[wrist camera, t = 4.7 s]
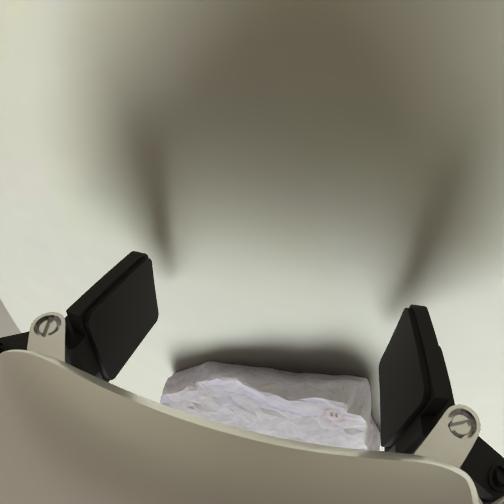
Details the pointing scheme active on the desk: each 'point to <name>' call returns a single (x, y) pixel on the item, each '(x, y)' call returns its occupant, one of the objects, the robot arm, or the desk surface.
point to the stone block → (278, 403)
